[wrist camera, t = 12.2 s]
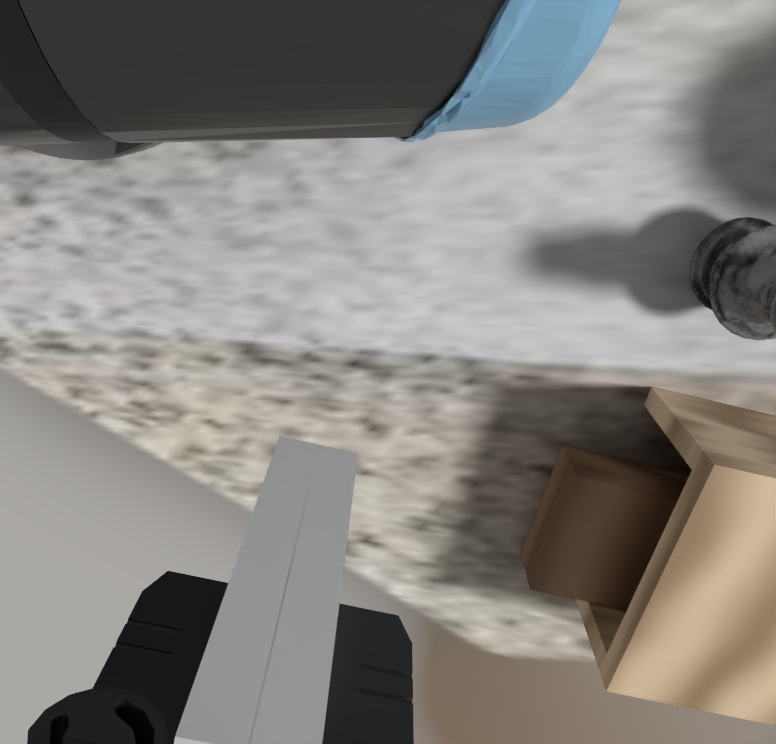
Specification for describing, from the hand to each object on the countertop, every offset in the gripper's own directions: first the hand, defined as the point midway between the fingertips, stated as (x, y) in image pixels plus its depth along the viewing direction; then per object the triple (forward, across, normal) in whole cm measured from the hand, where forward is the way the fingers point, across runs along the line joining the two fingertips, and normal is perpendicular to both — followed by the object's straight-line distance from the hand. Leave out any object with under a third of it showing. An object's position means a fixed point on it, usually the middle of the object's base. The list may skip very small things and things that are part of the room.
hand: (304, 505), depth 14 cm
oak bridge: (+26, +23, -12) cm, 37 cm away
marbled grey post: (+27, +20, +3) cm, 33 cm away
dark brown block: (+27, +20, -14) cm, 36 cm away
